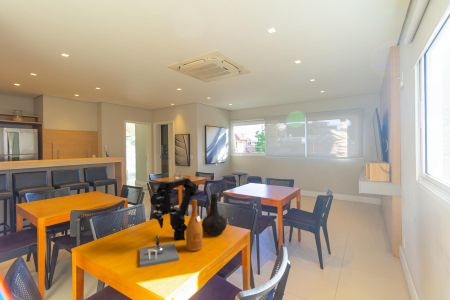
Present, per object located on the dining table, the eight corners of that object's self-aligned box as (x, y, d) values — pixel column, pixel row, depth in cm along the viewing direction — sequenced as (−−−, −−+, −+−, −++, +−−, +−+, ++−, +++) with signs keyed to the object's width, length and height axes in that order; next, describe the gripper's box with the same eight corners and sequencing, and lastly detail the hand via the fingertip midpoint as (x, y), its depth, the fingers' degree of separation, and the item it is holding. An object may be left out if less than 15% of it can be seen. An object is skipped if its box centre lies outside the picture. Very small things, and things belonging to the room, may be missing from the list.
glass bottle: (211, 240, 148) (211, 198, 148) (197, 232, 162) (196, 193, 162) (231, 233, 159) (231, 194, 159) (216, 226, 173) (216, 190, 173)
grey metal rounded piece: (161, 245, 137) (161, 235, 137) (163, 253, 126) (163, 242, 126) (146, 247, 134) (146, 237, 134) (146, 256, 123) (146, 245, 123)
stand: (173, 245, 141) (173, 234, 141) (179, 260, 122) (179, 247, 122) (139, 250, 133) (139, 238, 133) (140, 267, 115) (140, 253, 115)
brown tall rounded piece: (189, 253, 130) (189, 202, 129) (184, 246, 138) (184, 198, 138) (204, 250, 134) (204, 200, 134) (199, 243, 143) (198, 196, 142)
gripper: (170, 197, 152) (170, 220, 152) (145, 202, 138) (145, 227, 138) (181, 199, 145) (181, 223, 145) (156, 205, 131) (156, 232, 131)
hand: (166, 226), depth 140 cm, fingers open, 7 cm apart
